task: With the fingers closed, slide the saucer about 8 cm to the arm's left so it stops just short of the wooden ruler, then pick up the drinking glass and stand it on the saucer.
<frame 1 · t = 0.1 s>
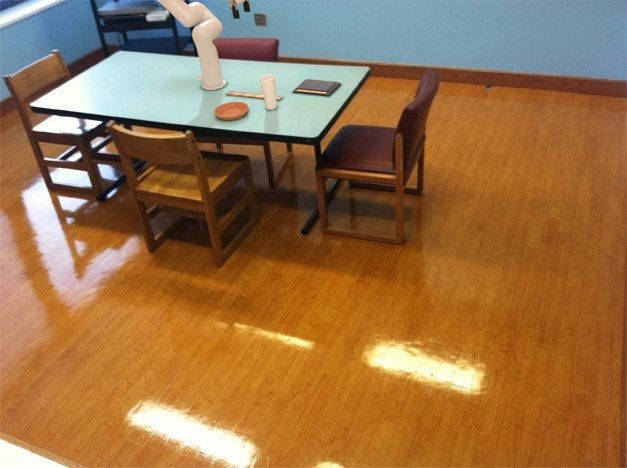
hand: (242, 15, 278), 37 cm above the table, tool pointing down, fingers open, 9 cm apart
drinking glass: (271, 108, 281), on the table
wallet: (317, 88, 294), on the table
ruler: (254, 96, 293), on the table
saucer: (232, 115, 279), on the table
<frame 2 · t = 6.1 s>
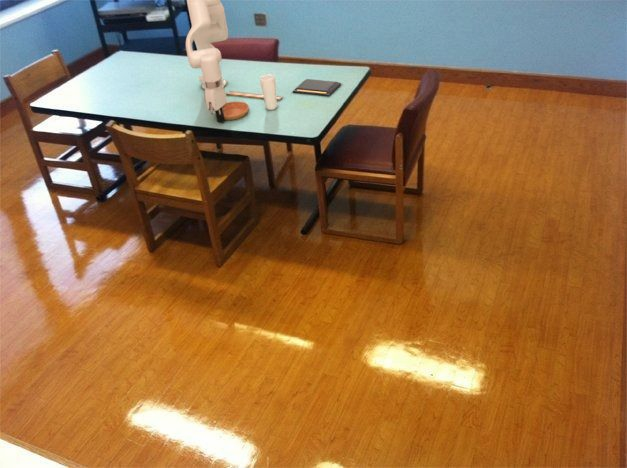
hand: (221, 121, 271), 1 cm above the table, tool pointing down, fingers closed
saucer: (232, 114, 279), on the table, touching gripper
everything else where it was.
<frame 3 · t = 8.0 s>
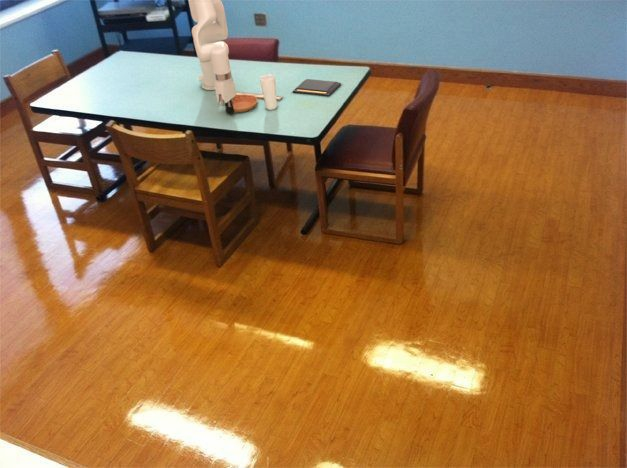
hand: (230, 113, 277), 1 cm above the table, tool pointing down, fingers closed
saucer: (241, 107, 285), on the table, touching gripper
everything else where it was.
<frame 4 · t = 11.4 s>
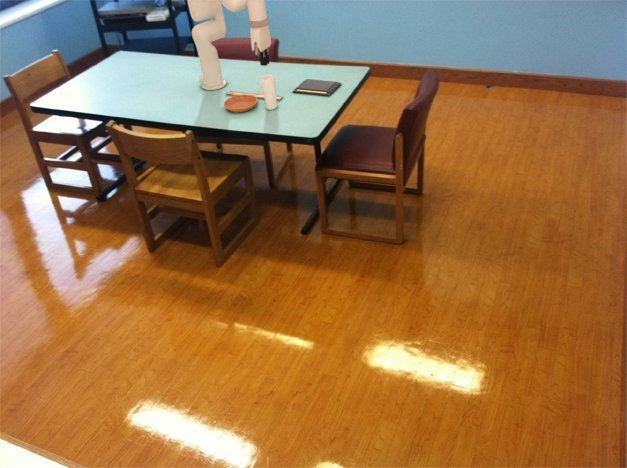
hand: (265, 64, 268), 21 cm above the table, tool pointing down, fingers closed
saucer: (241, 107, 285), on the table
everything else where it was.
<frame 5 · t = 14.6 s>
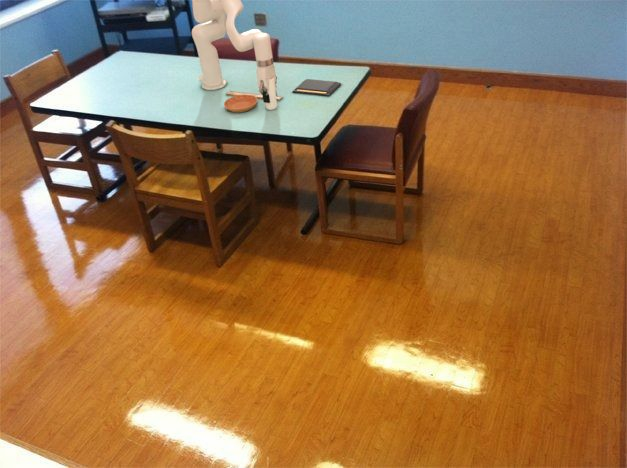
hand: (270, 99, 278), 4 cm above the table, tool pointing down, fingers closed on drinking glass, 6 cm apart
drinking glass: (271, 108, 281), on the table, touching gripper
everything else where it was.
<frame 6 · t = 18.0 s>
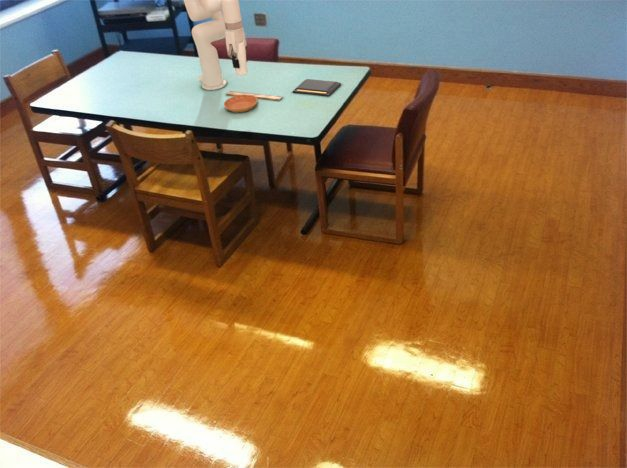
hand: (240, 64, 271), 21 cm above the table, tool pointing down, fingers closed on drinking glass, 6 cm apart
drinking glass: (242, 74, 274), point 16 cm above the table, touching gripper
everything else where it was.
when the fingers open (7 cm above the table, at t = 21.8 s): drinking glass stays where it is, resting on saucer.
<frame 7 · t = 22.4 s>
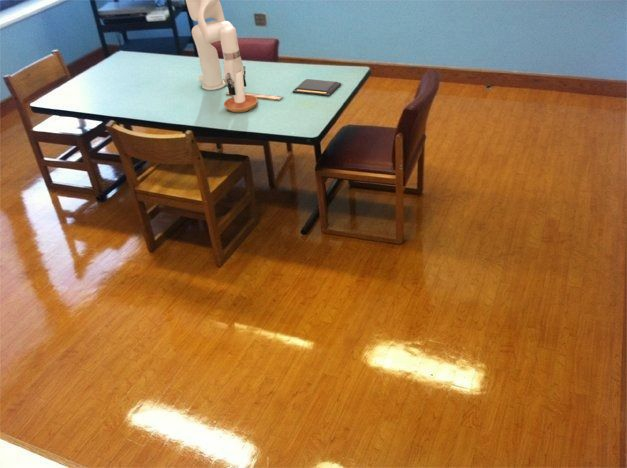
hand: (238, 90, 279), 8 cm above the table, tool pointing down, fingers open, 9 cm apart
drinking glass: (240, 101, 283), point 3 cm above the table, touching saucer
saucer: (241, 107, 285), on the table, touching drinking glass
everything else where it was.
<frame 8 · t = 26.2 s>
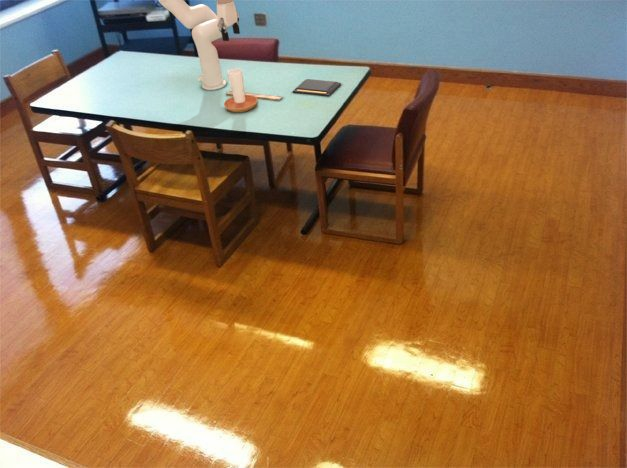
hand: (231, 37, 281), 28 cm above the table, tool pointing down, fingers open, 9 cm apart
nothing on the table moved.
at the end: saucer inside the target area (1.1 cm from its centre), on the table; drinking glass 0.3 cm from the saucer (horizontally); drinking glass tilted 0° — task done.
